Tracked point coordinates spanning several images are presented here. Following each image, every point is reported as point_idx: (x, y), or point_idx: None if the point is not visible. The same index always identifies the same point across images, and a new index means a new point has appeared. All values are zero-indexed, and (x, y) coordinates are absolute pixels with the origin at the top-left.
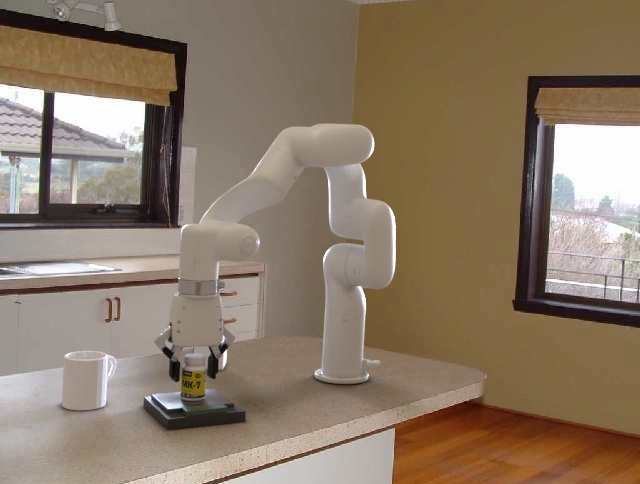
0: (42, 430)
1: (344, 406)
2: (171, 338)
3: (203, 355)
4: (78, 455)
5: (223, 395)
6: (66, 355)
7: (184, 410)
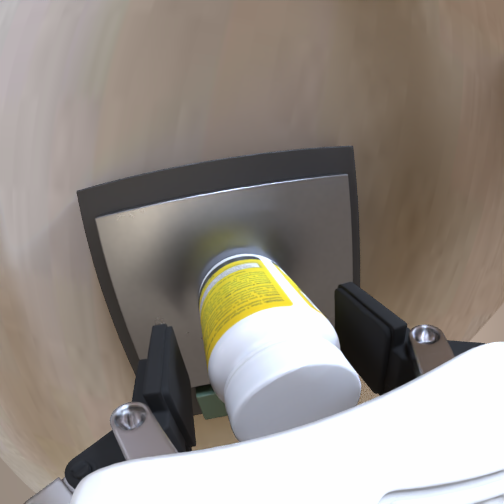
0: None
1: (500, 264)
2: (109, 487)
3: (351, 400)
4: (44, 453)
5: (351, 269)
6: None
7: (200, 407)
